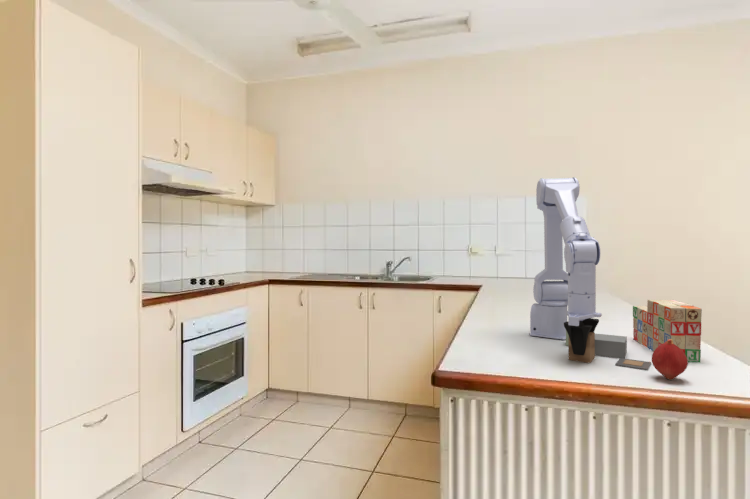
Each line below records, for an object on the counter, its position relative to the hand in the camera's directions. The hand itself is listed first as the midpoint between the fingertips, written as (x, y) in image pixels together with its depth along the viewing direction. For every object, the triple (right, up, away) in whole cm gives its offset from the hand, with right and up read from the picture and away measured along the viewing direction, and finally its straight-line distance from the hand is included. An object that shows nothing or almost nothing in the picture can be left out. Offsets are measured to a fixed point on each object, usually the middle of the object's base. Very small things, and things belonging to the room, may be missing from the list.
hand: (581, 352), depth 99 cm
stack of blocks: (+24, -2, +7) cm, 25 cm away
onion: (+10, -2, -14) cm, 18 cm away
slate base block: (+9, -2, +5) cm, 10 cm away
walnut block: (0, -2, 0) cm, 2 cm away
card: (+9, -2, -5) cm, 10 cm away
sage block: (+5, -1, +13) cm, 14 cm away
